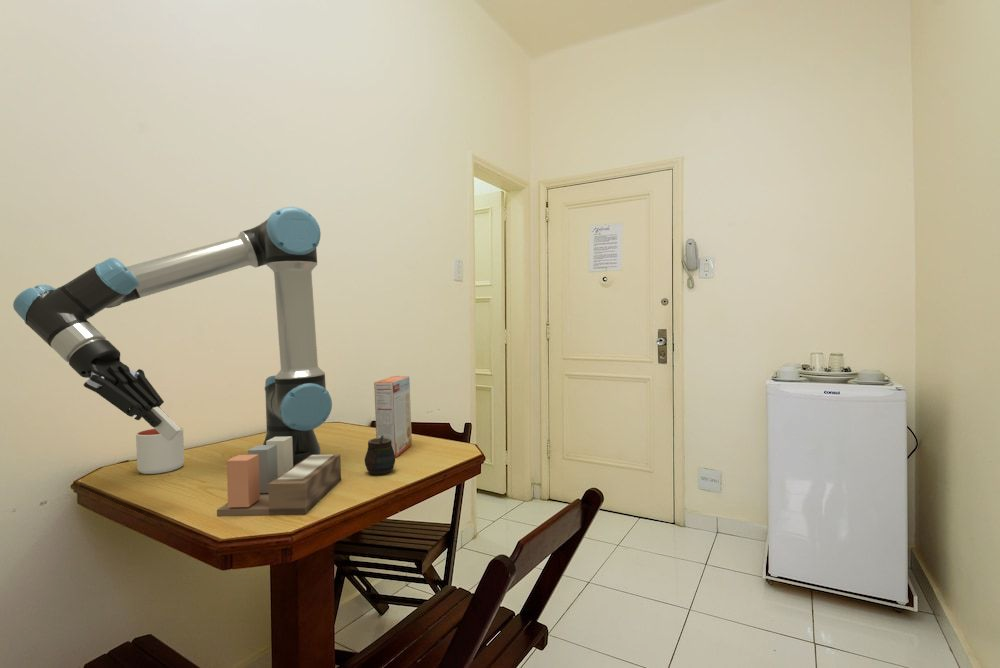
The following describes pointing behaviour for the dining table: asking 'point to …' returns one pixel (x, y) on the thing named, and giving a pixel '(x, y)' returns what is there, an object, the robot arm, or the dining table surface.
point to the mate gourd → (380, 456)
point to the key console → (294, 489)
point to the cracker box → (394, 412)
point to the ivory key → (283, 453)
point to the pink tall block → (243, 480)
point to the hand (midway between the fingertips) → (174, 435)
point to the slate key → (266, 464)
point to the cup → (159, 452)
